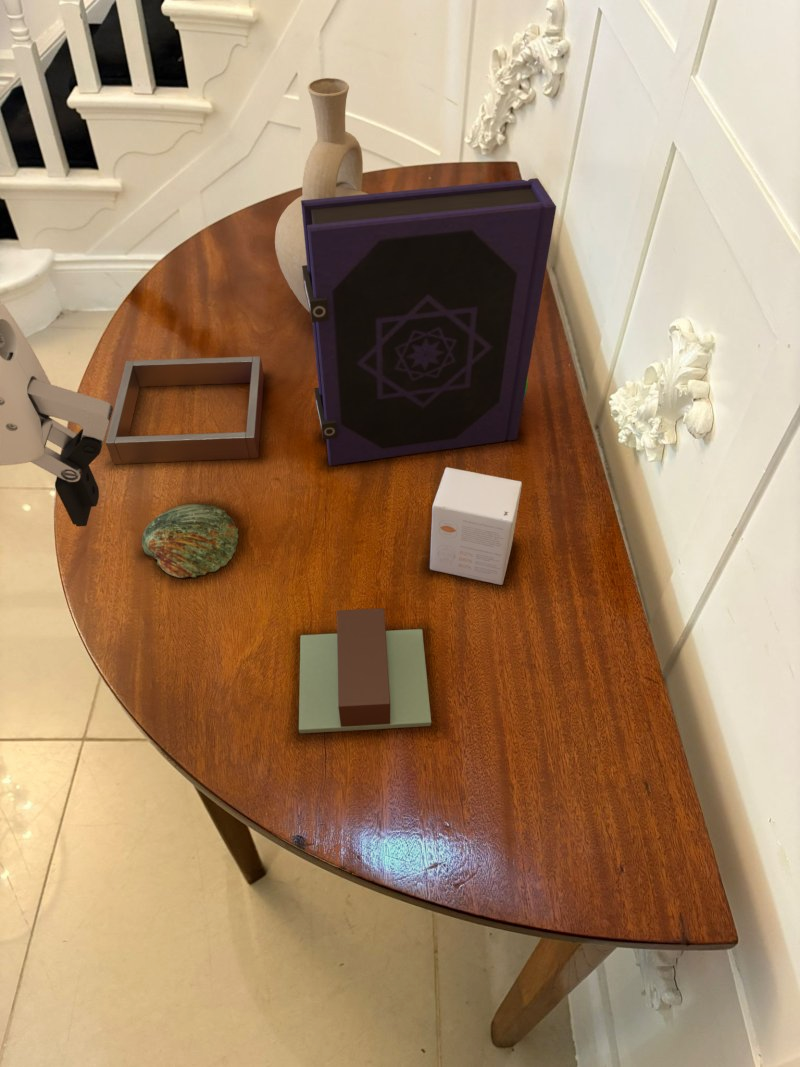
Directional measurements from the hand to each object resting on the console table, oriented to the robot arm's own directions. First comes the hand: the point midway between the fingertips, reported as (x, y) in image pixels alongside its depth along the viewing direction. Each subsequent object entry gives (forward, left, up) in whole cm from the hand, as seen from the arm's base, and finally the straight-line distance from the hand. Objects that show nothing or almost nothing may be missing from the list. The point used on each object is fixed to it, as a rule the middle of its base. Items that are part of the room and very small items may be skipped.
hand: (8, 513), depth 50 cm
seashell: (+4, +20, -28) cm, 35 cm away
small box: (+34, +16, -28) cm, 47 cm away
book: (+30, +35, -28) cm, 54 cm away
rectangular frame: (+2, +40, -28) cm, 49 cm away
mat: (+22, +2, -28) cm, 36 cm away
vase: (+21, +62, -28) cm, 71 cm away
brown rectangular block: (+22, +2, -28) cm, 35 cm away
